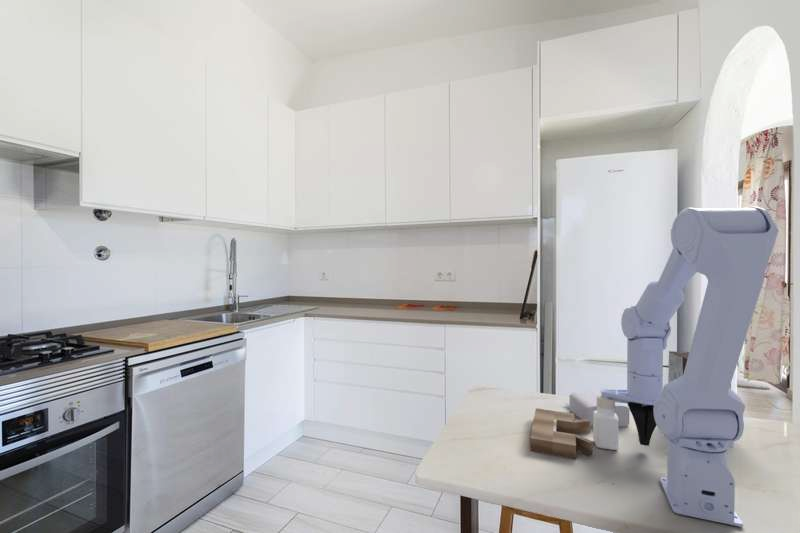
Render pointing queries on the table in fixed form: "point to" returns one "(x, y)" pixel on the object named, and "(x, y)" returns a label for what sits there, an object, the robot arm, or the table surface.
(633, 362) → the robot arm
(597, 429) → the pepper shaker
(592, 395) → the charger
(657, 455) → the table surface
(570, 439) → the locating nest
